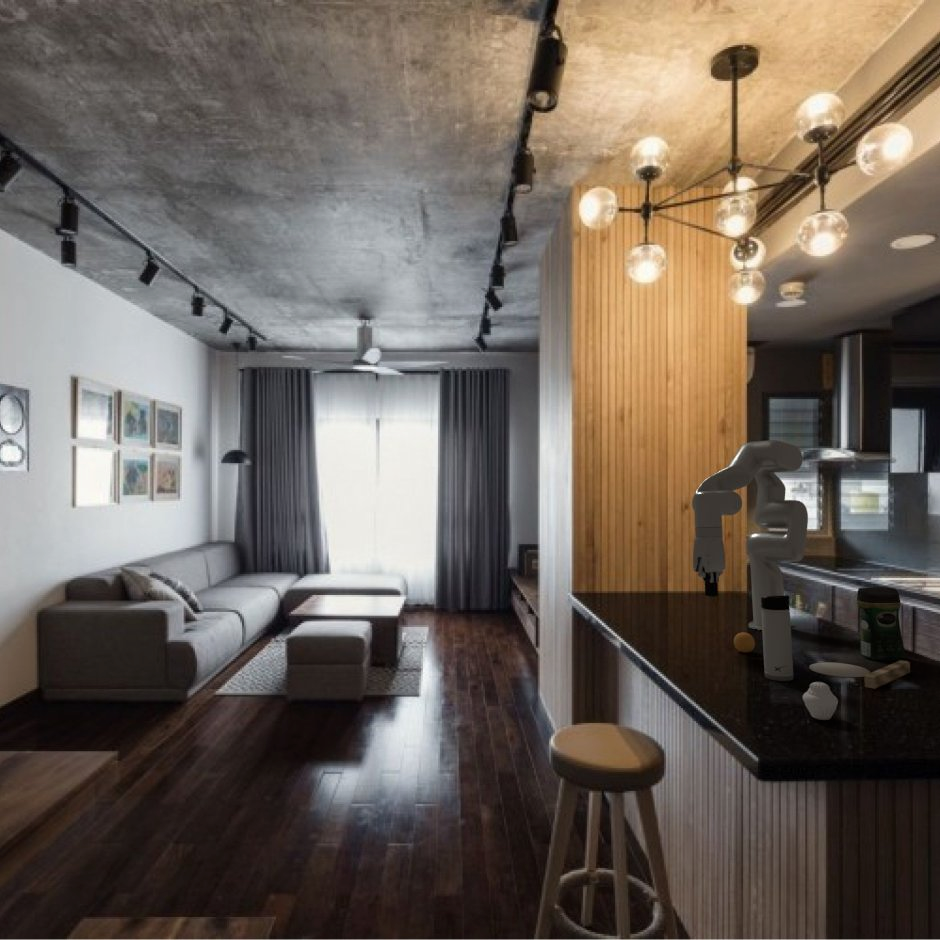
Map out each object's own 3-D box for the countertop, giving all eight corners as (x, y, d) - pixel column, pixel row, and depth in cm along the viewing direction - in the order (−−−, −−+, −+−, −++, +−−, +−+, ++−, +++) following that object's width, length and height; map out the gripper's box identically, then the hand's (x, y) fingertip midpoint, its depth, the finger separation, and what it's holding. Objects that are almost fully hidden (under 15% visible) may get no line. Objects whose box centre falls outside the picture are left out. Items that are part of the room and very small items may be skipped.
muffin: (811, 710, 130) (809, 675, 130) (843, 717, 125) (841, 681, 126) (798, 717, 126) (796, 681, 126) (832, 725, 121) (829, 688, 122)
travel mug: (783, 683, 148) (778, 597, 149) (759, 676, 154) (754, 594, 155) (800, 679, 151) (796, 594, 152) (776, 672, 157) (771, 591, 158)
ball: (741, 649, 182) (740, 629, 182) (759, 652, 177) (758, 632, 178) (730, 652, 179) (729, 632, 179) (748, 655, 174) (747, 635, 174)
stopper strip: (901, 670, 156) (900, 660, 156) (910, 672, 154) (909, 661, 154) (864, 686, 144) (864, 675, 144) (874, 688, 142) (873, 677, 142)
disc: (824, 660, 167) (824, 659, 167) (879, 670, 156) (879, 669, 156) (799, 669, 159) (799, 668, 159) (855, 680, 149) (855, 679, 149)
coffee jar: (893, 654, 171) (889, 585, 172) (910, 661, 164) (905, 589, 164) (855, 654, 173) (851, 585, 173) (870, 661, 165) (865, 589, 166)
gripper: (712, 531, 195) (714, 592, 194) (682, 534, 186) (685, 597, 185) (734, 532, 189) (737, 594, 188) (705, 535, 180) (708, 600, 179)
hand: (711, 595), depth 186 cm, fingers closed
